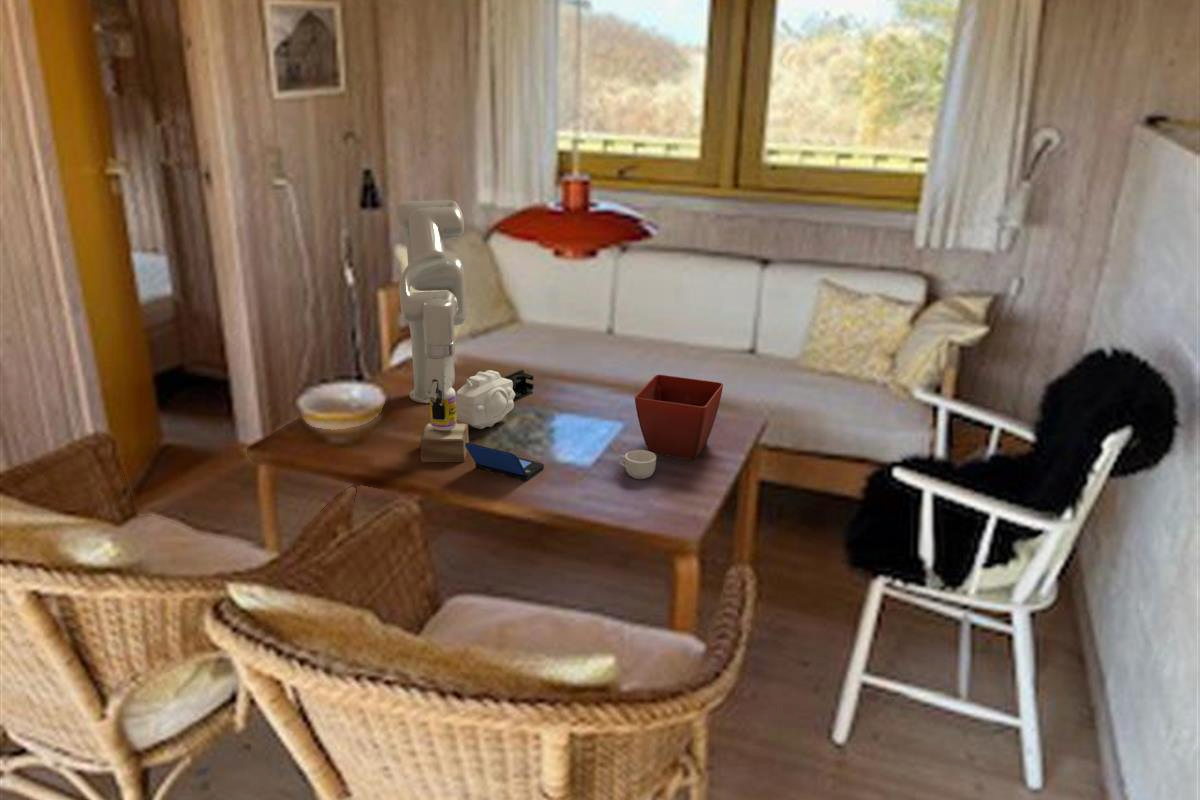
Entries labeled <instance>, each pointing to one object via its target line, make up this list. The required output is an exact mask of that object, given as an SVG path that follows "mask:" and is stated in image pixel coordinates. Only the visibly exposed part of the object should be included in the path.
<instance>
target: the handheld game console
mask: <svg viewBox="0 0 1200 800" xmlns="http://www.w3.org/2000/svg"><path fill="white" fill-rule="evenodd" d="M465 446H466V448H467V452H468V453H469V455H470V456H471V459H473V462H474V463H475V469H476V470H479V469H480V471H485V472H489V473H492V474H497V475H498V474H499V475H503V476H505V477H507V478H511V479H515V480H519V481H522V482H527V481H528V480H529V479H531V478H532V477H534V476H535V475H537V474H538V473H539V472H541V471H542V470H544V467H545V464H543V463H541V462H537V461H534V460H531V459H525V458H522V457H518V456H517V455H516V454H515V453H512V452H508V451H504V450H499V449H495V448H491V447H487V446H483V445H480V444H476V443H470V442H469V443H466V444H465Z"/></svg>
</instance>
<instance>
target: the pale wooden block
mask: <svg viewBox="0 0 1200 800" xmlns="http://www.w3.org/2000/svg"><path fill="white" fill-rule="evenodd" d="M469 436H470V435H469V424H467V423H457V425H456V426H455V427H454V428H453V429H450V430H436V429H434V428H432V426H431V423H426V425H425V427H424V430H423V432H422V434H421V437H420V440H419V444H420V445H419V446H420V459H421V463H436V462H437V463H464V462H465V459H466V457H467V453H468V450H467V448H466V446H465V444H466V443H470V440H469V438H470V437H469Z"/></svg>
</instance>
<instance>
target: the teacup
mask: <svg viewBox="0 0 1200 800" xmlns="http://www.w3.org/2000/svg"><path fill="white" fill-rule="evenodd" d="M621 458H622V459H623V460H624V462H622V460H621ZM617 462H618V463H619V464H620V466H622V467H624V468H625V470H626V472H627V474H628V475H629V477H631V478H633V479H636V480H645V479H647V478H650V477H651V476H652V475H653V474H654V472H655V470H656V467H657V466H656V464H657V454H654V453H652V452H650V451H648V450H645V449H634V450H633V449H632V450H629V451H627V452H625V455H623V454H622V455H619V456H618V459H617Z"/></svg>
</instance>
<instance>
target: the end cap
mask: <svg viewBox="0 0 1200 800" xmlns="http://www.w3.org/2000/svg"><path fill="white" fill-rule="evenodd" d="M501 377H502V376H501ZM502 378H505V379H509V380H511V381H512V382H513V391H514V392H515V397H514V399H513V402H517V401H520V400H521V399H524V398H526V397H528V396H530V395H532V394H533V393H534V392H533V390H534V383H531V382H527V380H530V381H534V375H533V374H529V373H527V372H525V370H524V369H519V370H518V371H517V370H516V371H514V372H512V373H510V374H507V375H505V376H503V377H502Z"/></svg>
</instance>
